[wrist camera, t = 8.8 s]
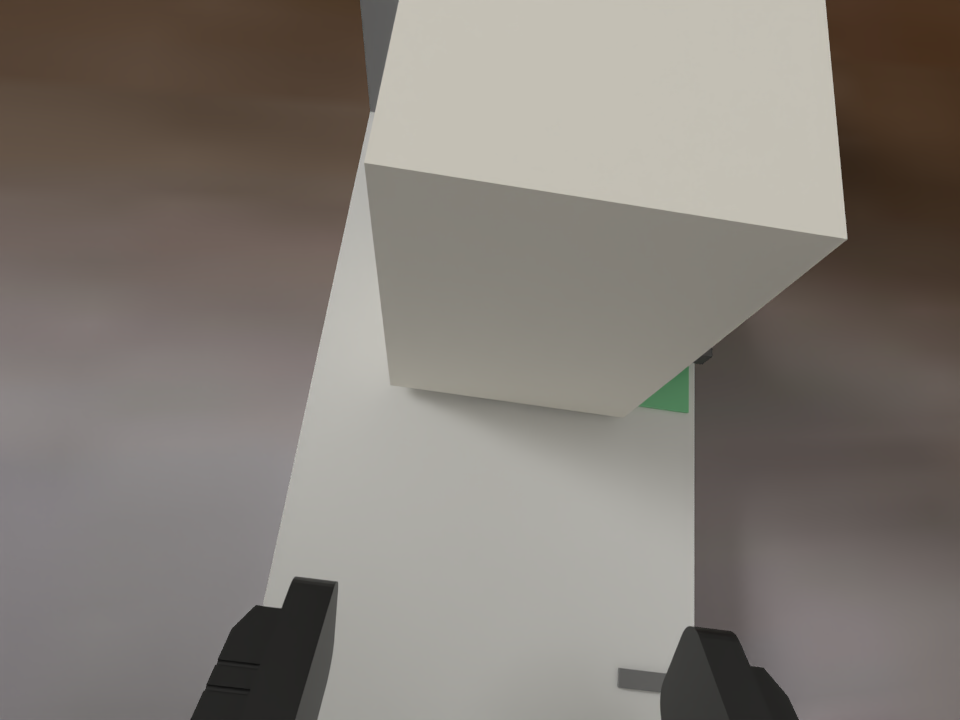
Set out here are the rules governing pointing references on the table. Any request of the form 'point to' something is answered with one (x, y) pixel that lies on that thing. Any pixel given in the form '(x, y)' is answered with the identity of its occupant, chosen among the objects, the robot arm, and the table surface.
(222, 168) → the table surface
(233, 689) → the robot arm
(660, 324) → the block
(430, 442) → the base
